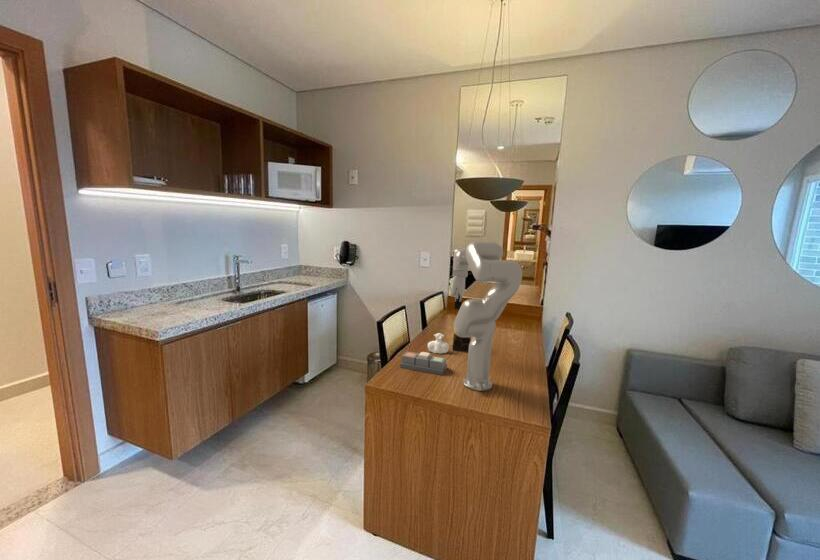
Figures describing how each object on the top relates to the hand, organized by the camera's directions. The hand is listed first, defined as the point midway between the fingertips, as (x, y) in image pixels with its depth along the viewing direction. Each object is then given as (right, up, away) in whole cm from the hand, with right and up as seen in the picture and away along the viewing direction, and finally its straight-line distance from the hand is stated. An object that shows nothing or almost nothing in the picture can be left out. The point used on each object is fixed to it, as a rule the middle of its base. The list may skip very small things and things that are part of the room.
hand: (458, 308), depth 170 cm
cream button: (-18, -24, -8) cm, 31 cm away
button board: (-18, -28, -8) cm, 34 cm away
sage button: (-11, -26, -10) cm, 30 cm away
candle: (+5, -25, +20) cm, 32 cm away
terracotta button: (-24, -25, -6) cm, 35 cm away
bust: (-9, -25, +14) cm, 30 cm away
